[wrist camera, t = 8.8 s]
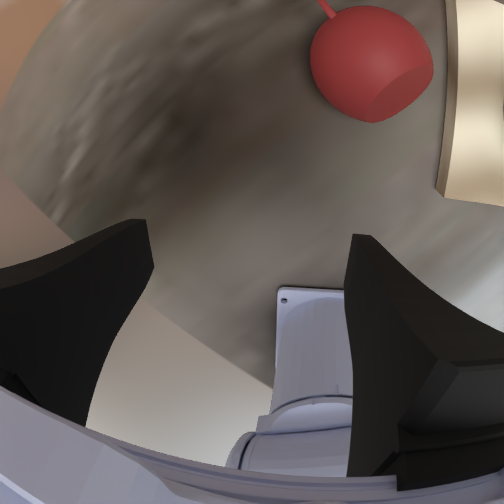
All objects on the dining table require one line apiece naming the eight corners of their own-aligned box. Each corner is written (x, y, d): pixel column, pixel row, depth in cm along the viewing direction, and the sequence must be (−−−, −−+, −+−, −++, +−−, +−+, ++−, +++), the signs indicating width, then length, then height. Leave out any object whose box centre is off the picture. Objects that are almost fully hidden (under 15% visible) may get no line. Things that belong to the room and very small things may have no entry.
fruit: (378, 22, 14) (347, -65, 7) (442, 87, 14) (452, 7, 6) (304, 74, 17) (238, 7, 10) (361, 144, 16) (322, 92, 9)
